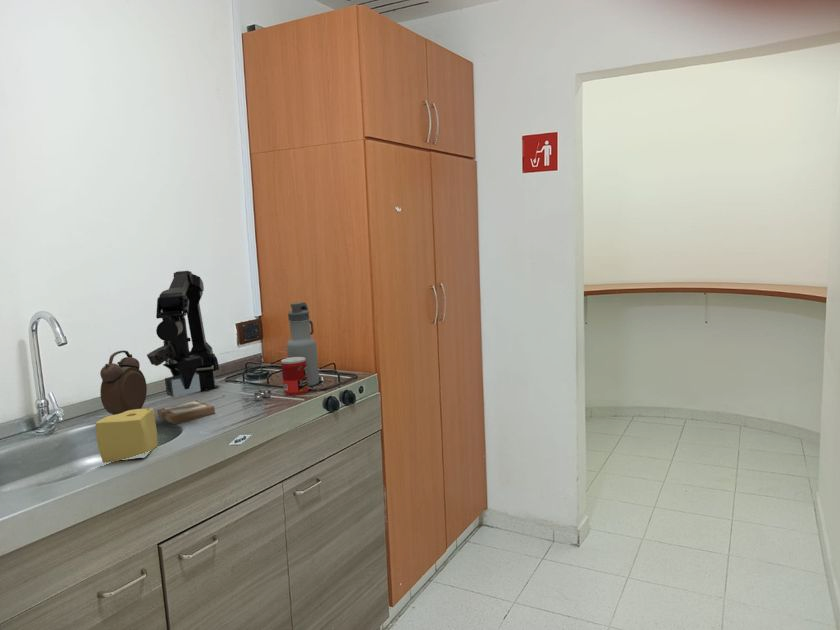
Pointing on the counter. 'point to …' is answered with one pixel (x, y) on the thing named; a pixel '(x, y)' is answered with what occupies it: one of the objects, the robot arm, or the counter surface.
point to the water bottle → (303, 340)
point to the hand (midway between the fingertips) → (183, 387)
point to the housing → (181, 385)
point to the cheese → (126, 434)
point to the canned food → (294, 375)
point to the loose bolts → (262, 395)
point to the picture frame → (185, 412)
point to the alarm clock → (122, 385)
